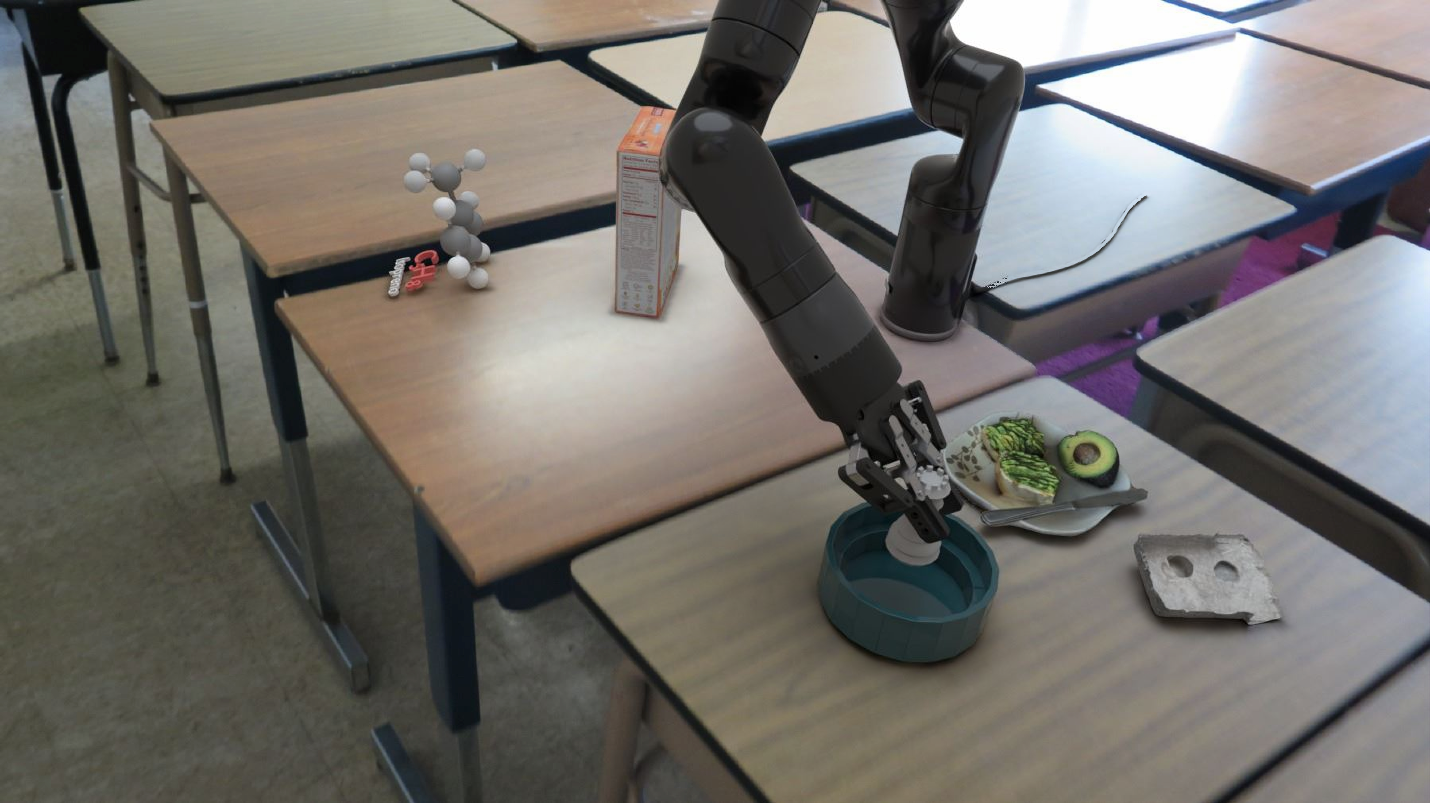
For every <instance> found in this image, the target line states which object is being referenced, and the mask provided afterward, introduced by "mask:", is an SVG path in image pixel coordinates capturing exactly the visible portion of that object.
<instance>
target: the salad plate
mask: <svg viewBox="0 0 1430 803" xmlns="http://www.w3.org/2000/svg"><path fill="white" fill-rule="evenodd" d="M1117 448H1118V447H1116V446H1115V444H1114V442H1113V441H1112V440H1110V439H1109V438H1108V437H1106V436H1105V435H1103V434H1102V433H1100V432H1097V431H1094V430H1090V429H1089V430H1087V429H1085V430H1082V431H1081V430H1076V431H1075V433H1074V434H1071V433H1070V432H1068V431H1067V430H1065V429H1063V428H1061V427H1059V426H1057V425H1056V424H1055V423H1053V422H1051V421H1049V420H1047V419H1045V418H1042V417H1040V416H1038V415H1035V414H1031V413H1029V412H1022V411H1021V412H1020V411H999V412H993V413H992V414H990V415H988V416H986V417H983V419H981V420H979V421H978V422H977V423H975V424H974V425H973V426H971V427H969V429H967V430H965V431H964V432H963V433H961V434H960V435H957V436H956V437H955V438H954V439H953V440H951V441H950V442H949V443H948V444H947V446H946V448H945V449H943V450H942V457H943V459H944V465H943V466H942V467H943V469H944V470H945V472H946V473H947V475H948V476H949V478H950V479H951V481H952V483H953V484H954V486H955V487H956V489H957V490H958V491H959V492H960V493H961V495H963V496H964V497H965V498H966V499H967V500H968V501H969V502H970V503H972V504H973V505H976V506H977V507H979V508H981V509H983V510H984V511H982V512H981V514H980V520H981V522H982V523H983V524H984V525H986V526H989V527H1004V526H1012V527H1016V528H1021V529H1025V530H1027V531H1032V532H1035V533H1038V534H1043V535H1050V536H1063V537H1075V536H1078V535H1082V534H1084V533H1086V532H1087V531H1090V530H1092V529H1093V528H1094V527H1096V526H1097V525H1099V524H1100V523H1101V521H1102V520H1103V519H1105V518H1106V517H1107V515H1109V514H1110V513H1112V511H1114V510H1116V509H1118V508H1121V507H1125V506H1130V505H1132V504H1136V503H1138V502H1141V501H1144V500H1147V499H1148V494H1149V491H1148V490H1146V489H1144V488H1143V487H1142V488H1137V487H1134V486H1133V483H1132V482H1131V478H1130V476H1129V473H1128V472H1127V470H1126V469H1125V468H1124V466H1123V465H1122V464H1121V461H1120V454H1119V450H1118V449H1117Z"/></svg>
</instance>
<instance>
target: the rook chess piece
mask: <svg viewBox="0 0 1430 803" xmlns="http://www.w3.org/2000/svg"><path fill="white" fill-rule="evenodd" d="M932 469H933V466H930V465H927V467H926V470H924V468H923V467H922V466H921V467H920V468H918V470H917V472H916V473H915V474H916V476H917V478H918V480H919V482H920V484H921V486H922V488H923V490H924V492H925V496H926V495H928V497H929V498H930V500H931V501H932V503H933V504H934V506H935V507H936V509H937V510H938V511H939V509H941V508H942V506H943V504H944V503H943V498H945V497H946V496H947V495H949V493H950V491H951V488H950V484H949V483H948V480H949V478H948V475H944V476H943V474H944V470H942V469H940V468H939V469H938V470H937V472H936V471H933V470H932ZM886 546H887V548H888V550H889V551H890V553H891V554H892V556H893V557H894V558H895V559H897V560H898V561H899V562H901V563H903V564H906V565H909V566H918V567H920V566H924V565H928V564H930V563H932V562H933V561H934V560H936V559H937V558H938V555H939V552H940V550H939V549H940V546H941V541H938V542H935V543H931V544H928V543H926V542H924V541H923V540H922V539H921V538H920V537H919V535H918V534H917V532H916V531H915V529H914V527H913V526H912V525H911V523H910V522H909V520H908V519H907V517H906V516H905V514H903V516H901V517H900V518H898V520H897V521H895V522H894V523H893V524H892V525H891V527H890V530H889V532H888V535H887V537H886Z"/></svg>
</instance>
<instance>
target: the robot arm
mask: <svg viewBox="0 0 1430 803" xmlns="http://www.w3.org/2000/svg"><path fill="white" fill-rule="evenodd" d="M822 1H823V0H718V1H717V3H716V5H715V6H716V7H715V9H714V11H713V14H712V16H711V19H710V22H709V25H708V28H707V30H706V33H705V37H704V41H703V45H702V47H701V52H700V56H699V58H698V61H697V65H696V67H695V69H694V71H693V74H692V76H691V78H690V80H689V83H688V84H687V86H686V89H685V91H684V93H683V95H682V97H681V100H680V102H679V104H678V107H677V108H676V110H677V111H676V113H675V115H674V117H673V120H672V122H671V124H670V127H669V129H668V131H667V134H666V136H665V139H664V141H663V144H662V146H661V149H660V153H659V157H658V174H659V178H660V182H661V185H662V187H663V189H664V191H665V192H666V194H667V195H668V196H669V198H670V199H671V200H672V201H673V202H674V203H676V204H677V205H678V206H680V207H681V208H682V209H683V210H686V211H688V212H692V213H695V215H696V216H697V217H698V219H699V221H700V223H702V225H703V227H704V228H705V229H706V231H707V233H708V234H709V236H710V237H711V239H712V241H713V242H714V243H715V244H716V246H717V248H718V249H719V250H720V252H721V254H722V256H723V260H724V262H723V263H724V268H725V271H726V273H727V276H728V277H729V280H730V281H731V283H732V284H733V286H734V288H735V289H736V291H737V292H738V293H739V296H740V297H741V299H742V300H743V301H744V304H746V306H747V307H748V309H749V310H750V312H751V314H752V315H753V317H754V318H755V319H756V321H757V322H758V323H759V326H760V328H761V329H762V331H763V333H764V335H765V337H766V339H767V341H768V344H769V345H770V347H771V349H772V350H773V352H774V354H775V355H776V357H777V358H778V361H780V363H781V365H782V366H783V367H784V369H785V370H786V372H787V374H788V375H789V377H790V378H791V379H792V381H793V382H794V384H795V385H796V387H797V388H798V390H799V391H800V393H801V394H802V396H803V397H804V399H805V400H806V402H807V404H808V405H809V406H810V408H811V410H812V411H813V413H814V414H815V416H816V417H817V418H818V419H819V420H820V421H822V422H825V423H832V424H834V425H836V426H837V427H838V429H839V430H840V433H841V436H842V438H843V442H844V445H845V446H846V447H847V449H848V450H849V455H848V459H847V460H848V461H847V464H844V465H841V466H839V467H838V468H837V475H838V478H839V479H840V481H841V482H842V483H844V484H845V485H846V486H847V487H848V488H850V489H851V490H852V491H853V492H855V493H856V494H857V495H858V496H859V497H860V498H862V499H863V500H864V502H868V503H869V504H870V505H871V506H873V507H874V508H875V509H876V510H877V511H879V512H880V513H881V514H882V515H888V514H891V513H894V512H897V511H900V510H901V511H902V512H903V513H904V514H905V516H906V517H907V519H908V520H909V522H910V523H911V525H912V526H913V527H914V529H915V531H916V532H917V534H918V535H919V537H920V538H921V539H922V540H923V541H924V542H926V543H928V544H931V543H935V542H938V541H942V540H945V539H946V538H947V537H948V535H949V533H950V529H949V527H948V526H947V524H946V523H945V521H944V520H943V518H942V517H941V515H948V514H955V513H957V512H961V511H962V508H963V507H964V505H965V500H964V499H963V497H962V495H961V494H960V493H959V489H958V488H957V487H956V486H955V485H954V484H953V483H952V481H951V479H950V478H949V476H948V478H949V480H948V483H949V484H950V488H951V491H950V493H949V495H947V496H946V497H945V498H943V503H944V504H943V506H942V508H941V509H939V511H938V510H937V509H936V507H935V506H934V504H933V503H932V501H931V500H930V498H929V497H928V495H926V496H925V492H924V490H923V488H922V486H921V484H920V482H919V480H918V478H917V476H916V474H915V473H916V472H917V470H918V468H920V467H921V466H922V467H923V468H924V470H926V467H927V465H930V466H933V469H932V470H933V471H936V472H937V470H938V469H939V468H940V469H942V470H944V468H943V465H944V459H943V454H942V453H941V452H942V451H944V449H945V448H946V446H947V445H948V444H947V440H946V437H945V435H944V433H943V430H942V428H941V425H940V422H939V420H938V416H937V415H936V412H935V410H934V407H933V405H932V402H931V399H930V397H929V394H928V392H927V389H926V387H925V384H924V383H923V381H922V380H920V379H917V380H915V381H912V382H908V383H906V384H904V385H901V383H900V382H898V381H899V380H900V378H901V376H902V372H903V367H902V366H903V365H902V364H901V362H900V361H899V359H898V358H897V356H896V355H895V353H894V352H893V350H892V348H891V347H890V345H889V344H888V342H887V341H886V338H884V336H883V334H882V333H881V331H880V330H879V328H878V326H877V325H876V323H875V322H874V320H873V319H872V317H871V315H870V314H869V313H868V311H867V310H866V308H865V306H864V305H863V303H862V302H861V300H860V298H859V297H858V295H857V294H856V293H855V292H854V291H853V289H852V288H851V287H850V286H849V285H848V283H846V281H845V280H844V279H843V277H842V276H841V275H840V273H839V272H838V271H837V270H836V268H835V266H834V264H833V263H832V261H831V260H830V258H829V257H828V254H826V252H825V250H824V248H822V246H821V244H820V242H819V241H818V240H817V238H816V237H815V235H814V234H813V232H812V231H811V230H810V229H809V228H808V226H807V225H806V223H805V221H804V220H803V218H802V216H801V214H800V212H799V209H798V206H797V205H796V202H795V200H794V198H793V195H792V193H791V190H790V188H789V187H788V184H787V182H786V180H785V178H784V176H783V173H782V170H780V168H779V165H778V163H777V161H776V159H775V158H774V155H773V154H772V152H771V150H770V148H769V147H768V145H767V144H766V141H765V140H764V139H763V137H762V136H763V135H764V134H763V133H764V131H765V128H766V126H767V122H768V120H769V117H770V115H771V113H772V110H773V108H774V105H775V104H776V102H777V101H778V99H779V97H780V96H781V94H783V92H784V91H785V89H786V88H787V86H788V85H789V83H790V81H791V79H792V77H793V75H794V74H795V72H796V69H797V67H798V64H799V62H800V59H801V57H802V54H803V51H804V49H805V46H806V43H807V41H808V38H809V36H810V33H811V31H812V29H813V25H814V22H815V21H816V18H817V15H818V13H819V9H820V7H821V5H822ZM964 2H965V0H879V3H880V5H881V6H882V8H883V10H884V11H883V12H884V15H885V17H886V20H887V23H888V26H889V29H890V32H891V34H892V37H893V40H894V43H895V46H896V49H897V53H898V55H899V61H900V64H901V68H902V73H903V77H904V81H905V87H906V91H907V95H908V98H909V99H908V100H909V102H910V106H911V108H912V110H913V112H914V114H915V115H916V117H917V118H918V120H919V121H920V122H922V123H923V124H925V125H926V126H928V127H930V128H932V129H934V130H937V131H940V132H942V133H946V134H949V135H951V136H952V137H956V138H959V139H962V143H961V147H960V149H959V152H958V153H941V154H939V153H938V154H932V155H928V156H925V157H922V158H920V159H918V160H917V161H916V162H915V163H914V164H913V166H912V167H911V171H910V174H909V179H908V184H907V189H906V194H905V199H904V202H903V208H902V213H901V218H900V222H899V226H898V232H897V237H896V241H895V246H894V251H893V255H892V260H891V265H890V269H889V275H888V278H887V277H885V281H884V288H885V293H884V296H883V297H884V298H883V303H882V304H881V308H880V312H879V317H880V320H881V322H882V324H883V325H884V326H885V327H887V328H888V329H889V330H890V331H892V332H894V333H896V334H897V335H899V336H901V337H905V338H907V339H911V340H916V341H924V342H925V341H926V342H936V341H942V340H945V339H948V338H949V337H951V336H952V335H954V333H955V332H956V329H957V325H959V324H961V322H962V318H963V314H964V310H965V306H966V303H967V302H968V300H969V297H970V294H971V293H973V294H983V293H986V292H989V291H992V290H993V289H996V288H995V287H994V288H993V287H991V288H990V287H989V286H995V285H994V284H992V283H990V284H987V285H985V287H984V286H980V287H976V285H975V283H974V282H973V281H972V280H973V276H974V273H975V269H976V265H977V262H978V254H977V253H976V251H977V247H978V243H979V240H980V236H981V232H982V228H983V224H984V220H985V216H986V212H987V209H988V205H989V201H990V197H991V193H992V190H993V188H994V185H995V184H996V181H997V179H998V176H999V174H1000V171H1001V170H1002V169H1001V168H1002V166H1003V162H1004V159H1005V156H1006V151H1007V149H1008V146H1009V142H1010V139H1011V136H1012V133H1013V130H1014V127H1015V124H1016V121H1017V119H1018V115H1019V111H1020V107H1021V106H1022V101H1023V98H1024V93H1025V86H1026V85H1025V84H1026V75H1025V70H1024V67H1023V65H1022V64H1021V63H1020V62H1019V61H1018V60H1016V59H1014V58H1011V57H1009V56H1006V55H1002V54H999V53H996V52H992V51H989V50H986V49H982V48H980V47H977V46H973V45H969V44H966V43H965V42H964V41H962V40H960V39H959V38H958V37H957V36H956V34H955V32H954V29H953V27H952V23H951V20H952V19H953V17H954V16H955V15H956V14H957V13H958V11H959V10H960V8H961V7H962V5H963V4H964ZM1004 278H1005V277H1003V278H1002V279H1004ZM1005 279H1007V278H1005ZM996 281H997V283H999V281H998V280H996ZM996 281H994V282H993V283H996ZM1000 283H1001V282H1000ZM991 284H992V285H991ZM1005 284H1007V283H1006V282H1005ZM987 286H988V287H989V288H988V287H987ZM996 286H997V285H996ZM1000 286H1001V285H999V286H998V287H1000ZM976 288H977V290H976ZM898 461H899V463H898V464H896V465H893V466H891V467H885V466H887V465H890V464H893V463H896V462H898ZM944 475H947V473H946V472H945V470H944V474H943V476H944ZM899 478H900V479H902V480H903V482H904V484H905V486H906V488H905V487H903V486H902V484H900V483H899V482H897V481H896V479H899ZM886 496H887V497H886ZM940 514H941V515H940Z"/></svg>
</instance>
